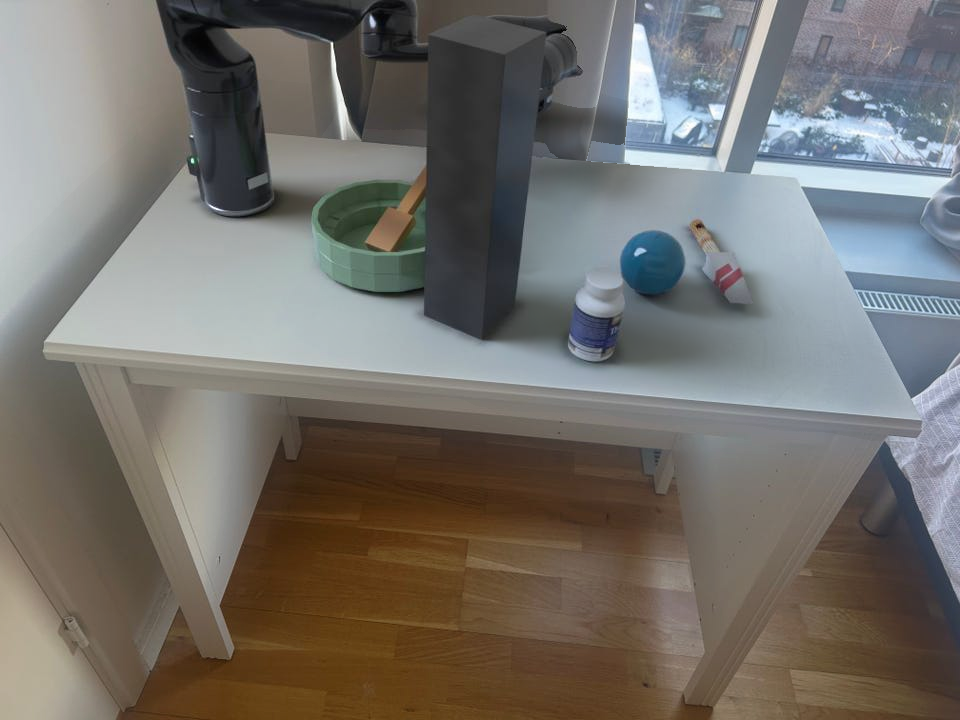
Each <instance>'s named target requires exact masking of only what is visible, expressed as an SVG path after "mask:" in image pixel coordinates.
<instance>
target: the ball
mask: <svg viewBox="0 0 960 720" xmlns="http://www.w3.org/2000/svg"><path fill="white" fill-rule="evenodd" d="M620 253H621V254H620V257H619V267H620V273H621V274H620V275H621V276H622V278H623V281H625V282H626V284H627V285H628V286H629V288H631V289H633V290H634V291H636V292H638V293H639V294H643V295H647V296H648V295H650V296H654V295H660V294H663V293H666V292H668V291H669V290H671V289H673V288H674V287H675V286H676V285H677V284H678V282H679V281H681V280H680V279H681V278H682V277H683V274H684V272H685V269H686V256H685V252H684V249H683V246H682V245H681V243H680V241H678V240H677V239H676V237H674V236H673V235H672V234H670V233H668V232H665V231H662V230H657V229H650V230H645V231H642V232H640V233H637V234H636V235H633V237H632V236H631V238H630V239H629V240H628V242H626V244H625V245H624V247H623V249H622V250H621V252H620Z"/></svg>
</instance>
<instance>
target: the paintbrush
mask: <svg viewBox="0 0 960 720" xmlns="http://www.w3.org/2000/svg"><path fill="white" fill-rule="evenodd" d="M689 228H690V230H691V232H692V234H693V235H694V237H695V239H696V240H697V242H698V244H699V245H700V247H701V248H702V250H703V252H704V254H705V263H704V265H703V267H702V269H701V271H702V272H703V273H704V274H705V275H706V276H707V278H709V279H710V281H711V282H712V283H713V285H714V286H716V288H717V289H718V290H719V291H720V292H721V294H722V295H723V296H724V297H725V298H726V299H727V300H728V302H729V303H730V304H753V300H752V297H751V294H750V292H749V288H748V286H747V284H746V281H745V277H744V275H743V273H742V269H741V266H740V264H739V262H738V259H737V258H738V257H737V256H736V253H735V252H728V251H727V252H725V251H724V252H723V251H722V252H721V250H720V249H719V247H718V245H717V244H716V242H715V241H714V239H713V237H712V235H711V234H710V232H709V231H708V229H707V227H706V225H705V224H704V223H703V221H702V219H699V218H695V219H693V220H691V221H690V223H689Z"/></svg>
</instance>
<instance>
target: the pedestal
mask: <svg viewBox="0 0 960 720" xmlns="http://www.w3.org/2000/svg"><path fill="white" fill-rule="evenodd" d="M487 17H488V16H482V15H478V14H472V15H469V16H467V17H465V18H462V19H460V20H458V21H455V22H452V23H451V24H448V25H446V26H444V27H441V28H439V29H437V30H435V31H433V32H431V33H428V35H427V36H428V37H427V43H428V63H427V97H426V155H425V156H426V163H425V166H426V217H425V280H424V287H423V290H424V291H423V296H424V297H423V316H425V317H426V318H429V319H432V320H434V321H436V322H439V323H441V324H444V325H446V326H448V327H450V328H453V329H454V330H458V331H460V332H462V333H465V334H466V335H469V336H471V337H474V338H476V339H478V340H481V341H482V340H483V339H484V338H485V337H486V336H487V335H489V333H490V332H491V331H492V330H493V329H494V328H495V327H497V325H498V324H499V323H500V322H501V321H502V320H503V319H504V318H505V317H506V315H508V314H509V313H510V311H512V310H513V308H514V307H516V300H517V293H518V292H517V291H518V283H519V282H518V281H519V273H520V265H521V258H522V257H521V256H522V249H523V240H524V239H523V238H524V231H525V230H524V229H525V222H526V213H527V205H528V197H529V196H528V195H529V186H530V179H531V177H530V176H531V169H532V161H533V151H534V143H535V135H536V126H537V119H538V117H537V110H538V102H539V93H540V85H541V76H542V67H543V59H544V50H545V41H546V32H543V31H539V30H535V29H531V28H527V27H523V26H519V25H515V24H511V23H507V22H503V21H499V20H495V19H491V18H487Z"/></svg>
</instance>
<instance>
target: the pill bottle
mask: <svg viewBox="0 0 960 720" xmlns="http://www.w3.org/2000/svg"><path fill="white" fill-rule="evenodd" d="M623 286H624V278H623V276H622V274H620V273H619V272H617V271H616V270H614V269H611V268H608V267H607V268H606V267H595V268H591V269H590V270H589V271H587V273H586V275H585V278H584V281H583V286H581V287H580V288H579V289H578V290H577V292H576V295H575V298H574V305H573V311H572V317H571V321H570V327H569V333H568V339H567V346H568V350H569V351H570V352H571V353H572V354H573V355H574V356H575V357H577V358H579V359H581V360H584V361H587V362H602V361H606V360H607V359H609V358H610V357H611V356H612V355H613V353H614V350H615V347H616V343H617V339H618V335H619V331H620V327H621V322H622V318H623V314H624V311H625V306H626V301H625V297H624V295H623V291H622V290H623Z"/></svg>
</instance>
